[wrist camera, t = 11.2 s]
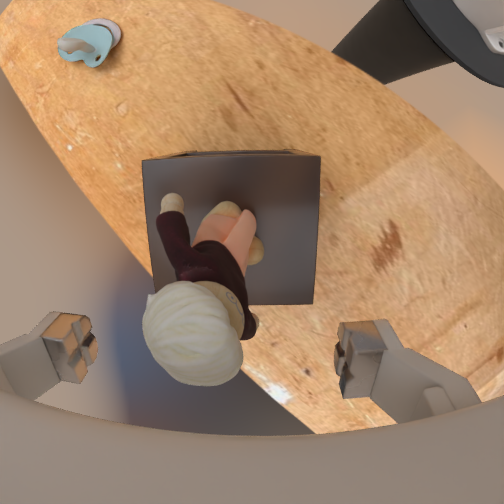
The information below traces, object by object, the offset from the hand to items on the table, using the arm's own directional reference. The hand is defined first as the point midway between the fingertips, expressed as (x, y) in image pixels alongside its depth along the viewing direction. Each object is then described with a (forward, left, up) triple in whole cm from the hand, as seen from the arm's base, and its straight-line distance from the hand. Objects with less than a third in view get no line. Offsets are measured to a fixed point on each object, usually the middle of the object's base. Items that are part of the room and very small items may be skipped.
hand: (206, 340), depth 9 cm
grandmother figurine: (0, 0, -11) cm, 11 cm away
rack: (0, 0, -24) cm, 24 cm away
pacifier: (+16, -19, -24) cm, 35 cm away
